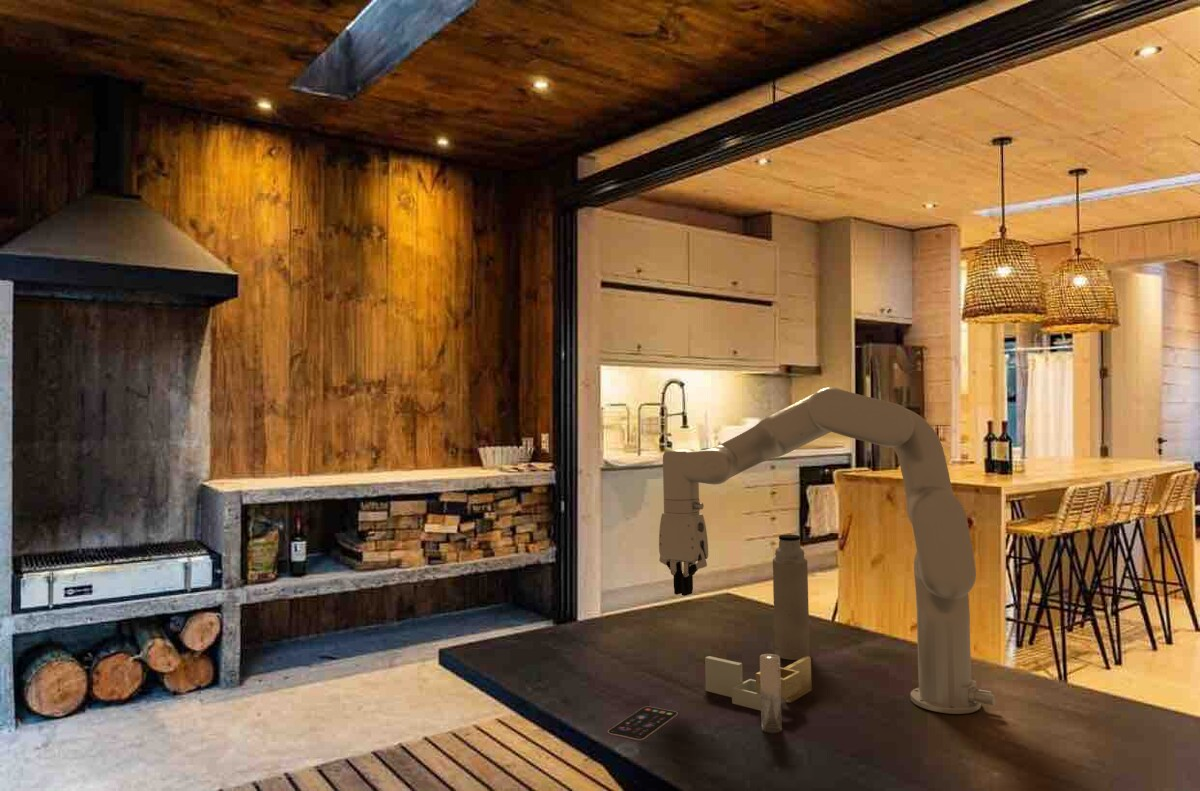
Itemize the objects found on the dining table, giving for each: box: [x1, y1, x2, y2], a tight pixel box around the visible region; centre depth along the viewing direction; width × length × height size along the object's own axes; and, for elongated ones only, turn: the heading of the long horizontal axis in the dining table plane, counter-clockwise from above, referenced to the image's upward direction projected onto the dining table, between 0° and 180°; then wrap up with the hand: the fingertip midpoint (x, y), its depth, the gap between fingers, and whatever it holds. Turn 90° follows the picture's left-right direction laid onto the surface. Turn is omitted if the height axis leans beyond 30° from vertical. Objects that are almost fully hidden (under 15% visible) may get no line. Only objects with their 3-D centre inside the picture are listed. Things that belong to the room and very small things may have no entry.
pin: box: [759, 653, 783, 734], centre depth 146 cm, size 4×4×13 cm
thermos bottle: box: [772, 534, 811, 661], centre depth 190 cm, size 8×8×28 cm
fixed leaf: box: [755, 656, 812, 704], centre depth 160 cm, size 6×16×7 cm, turn 139°
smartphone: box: [607, 706, 679, 741], centre depth 150 cm, size 8×1×15 cm
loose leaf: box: [704, 655, 761, 712], centre depth 162 cm, size 15×7×7 cm, turn 49°
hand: (683, 593), depth 171 cm, fingers closed
